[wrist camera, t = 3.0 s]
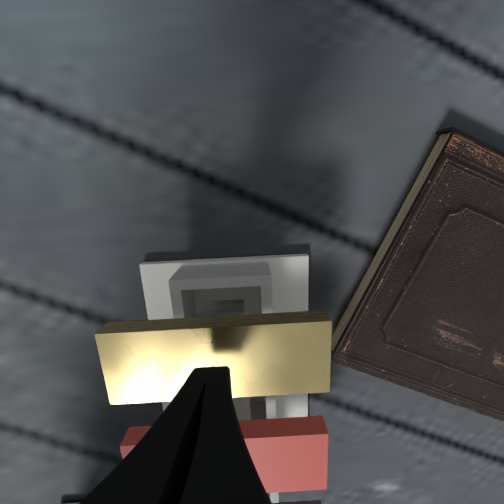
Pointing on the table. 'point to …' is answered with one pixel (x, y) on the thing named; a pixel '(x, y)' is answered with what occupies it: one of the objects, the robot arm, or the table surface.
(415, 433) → the table surface
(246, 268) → the panel
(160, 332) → the brass plug
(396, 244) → the hardcover book
